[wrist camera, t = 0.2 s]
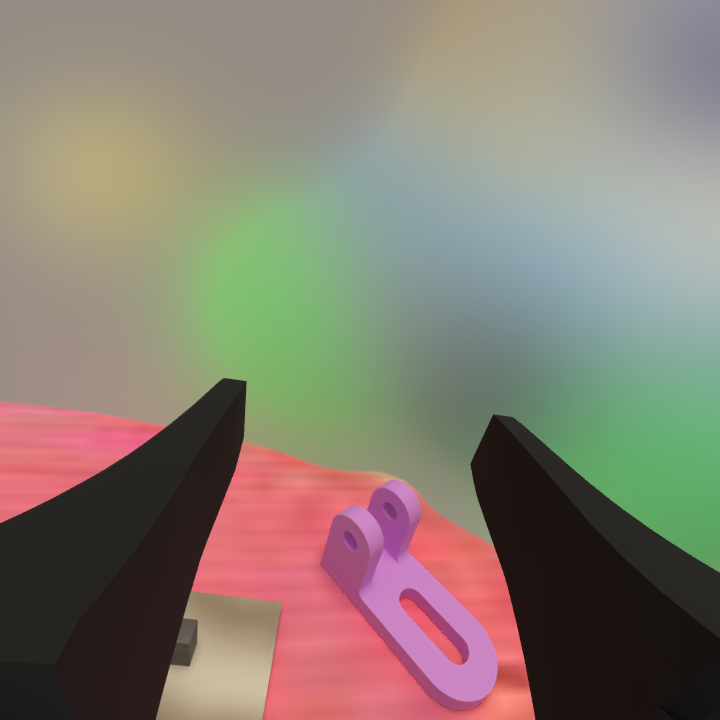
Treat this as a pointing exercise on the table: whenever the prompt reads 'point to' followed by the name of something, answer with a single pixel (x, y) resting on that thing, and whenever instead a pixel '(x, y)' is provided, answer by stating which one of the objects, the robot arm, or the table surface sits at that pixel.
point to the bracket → (407, 580)
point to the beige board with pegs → (221, 659)
